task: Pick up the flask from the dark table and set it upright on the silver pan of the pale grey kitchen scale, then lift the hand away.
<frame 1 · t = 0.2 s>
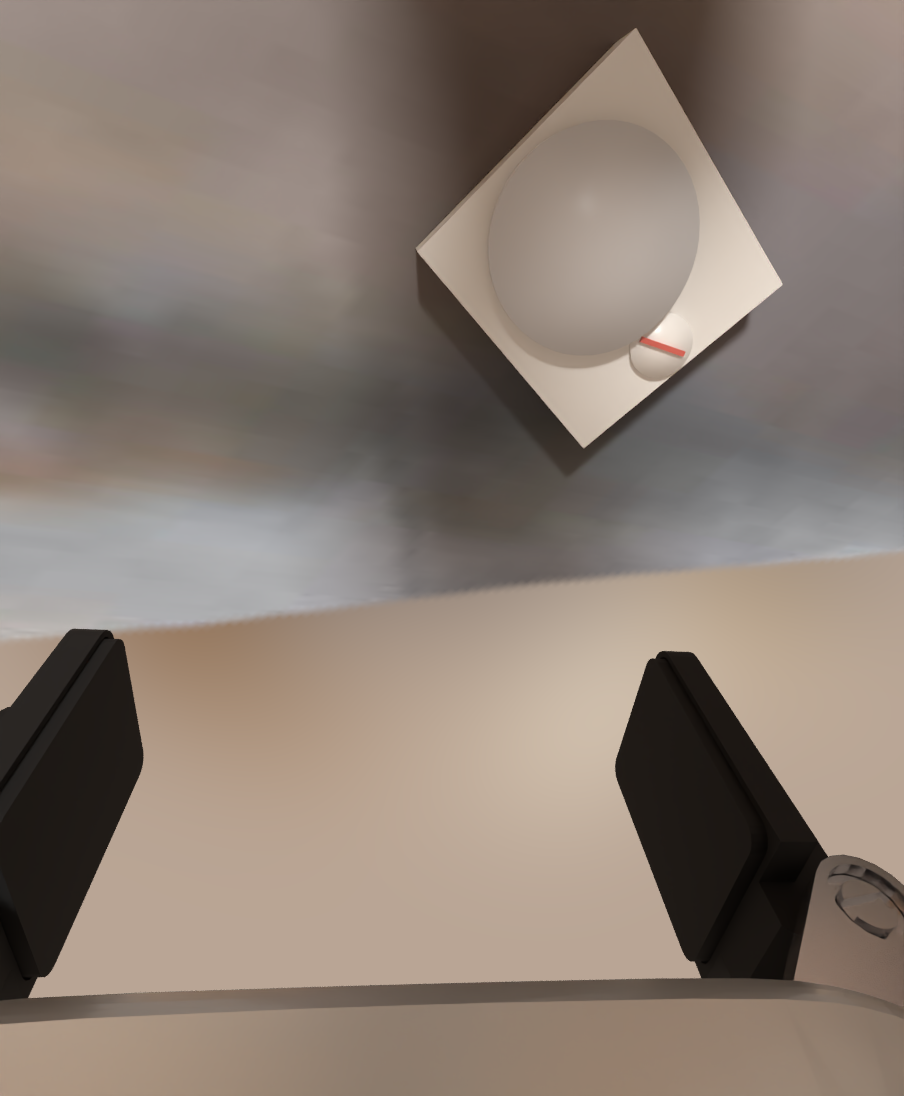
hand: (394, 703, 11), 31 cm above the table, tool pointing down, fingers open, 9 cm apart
kitchen scale: (591, 263, 37), on the table
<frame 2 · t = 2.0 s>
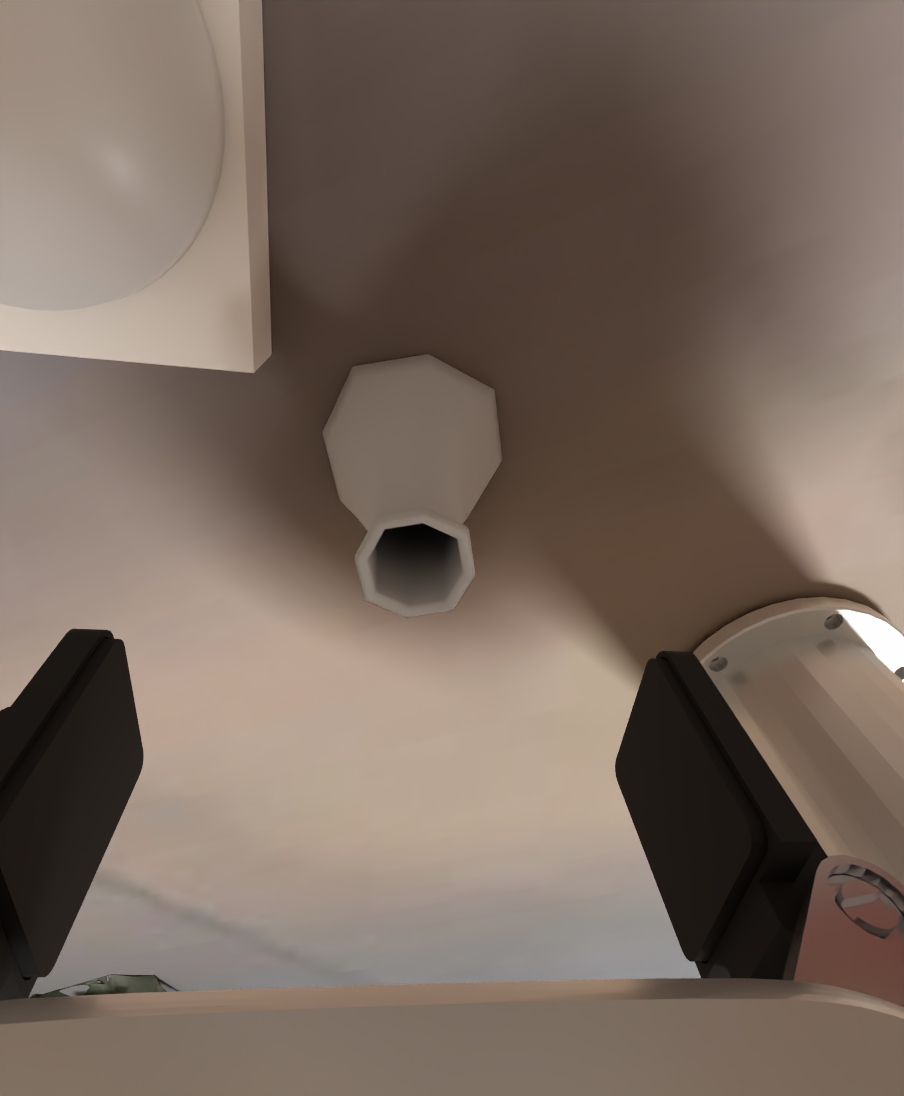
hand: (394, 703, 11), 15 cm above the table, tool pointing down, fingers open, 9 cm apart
flask: (414, 442, 25), on the table
rose bouquet: (102, 1089, 48), on the table
kitchen scale: (14, 96, 19), on the table
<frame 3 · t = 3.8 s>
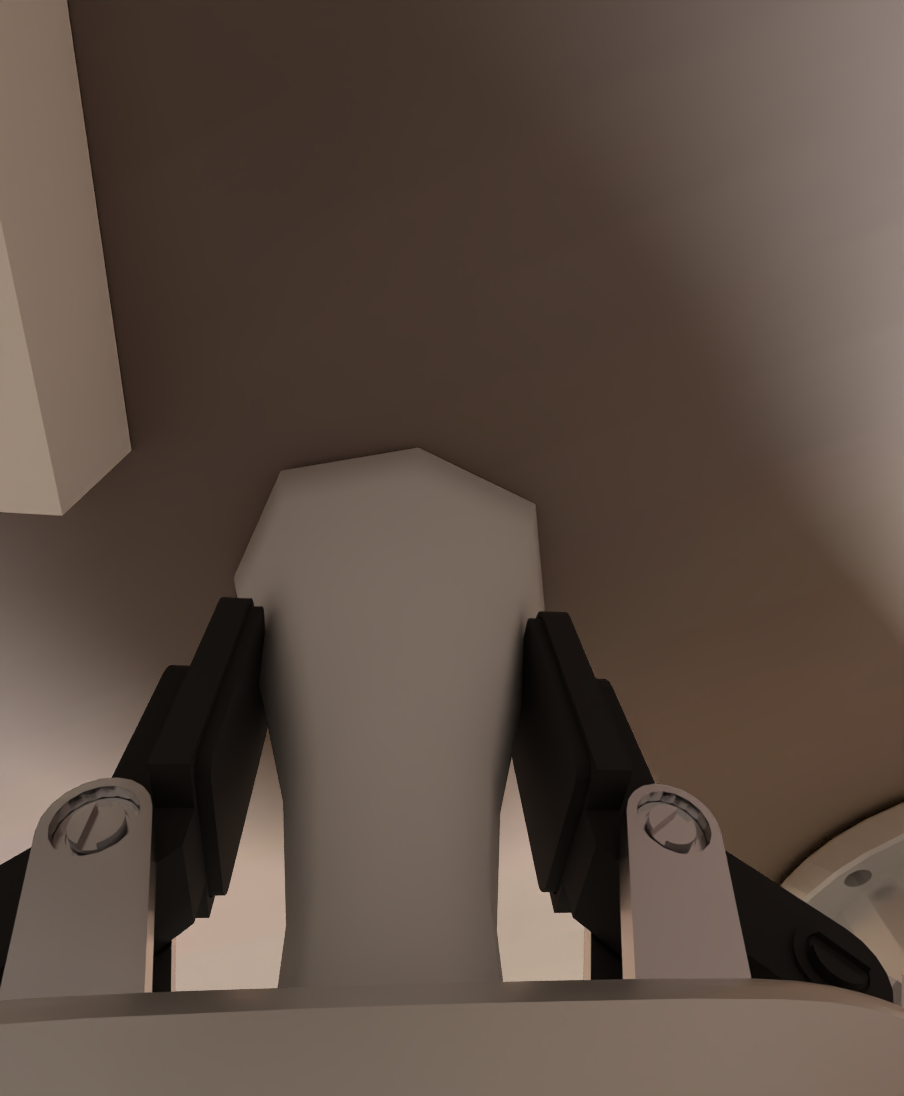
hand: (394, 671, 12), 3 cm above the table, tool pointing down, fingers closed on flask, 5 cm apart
flask: (395, 583, 15), on the table, touching gripper
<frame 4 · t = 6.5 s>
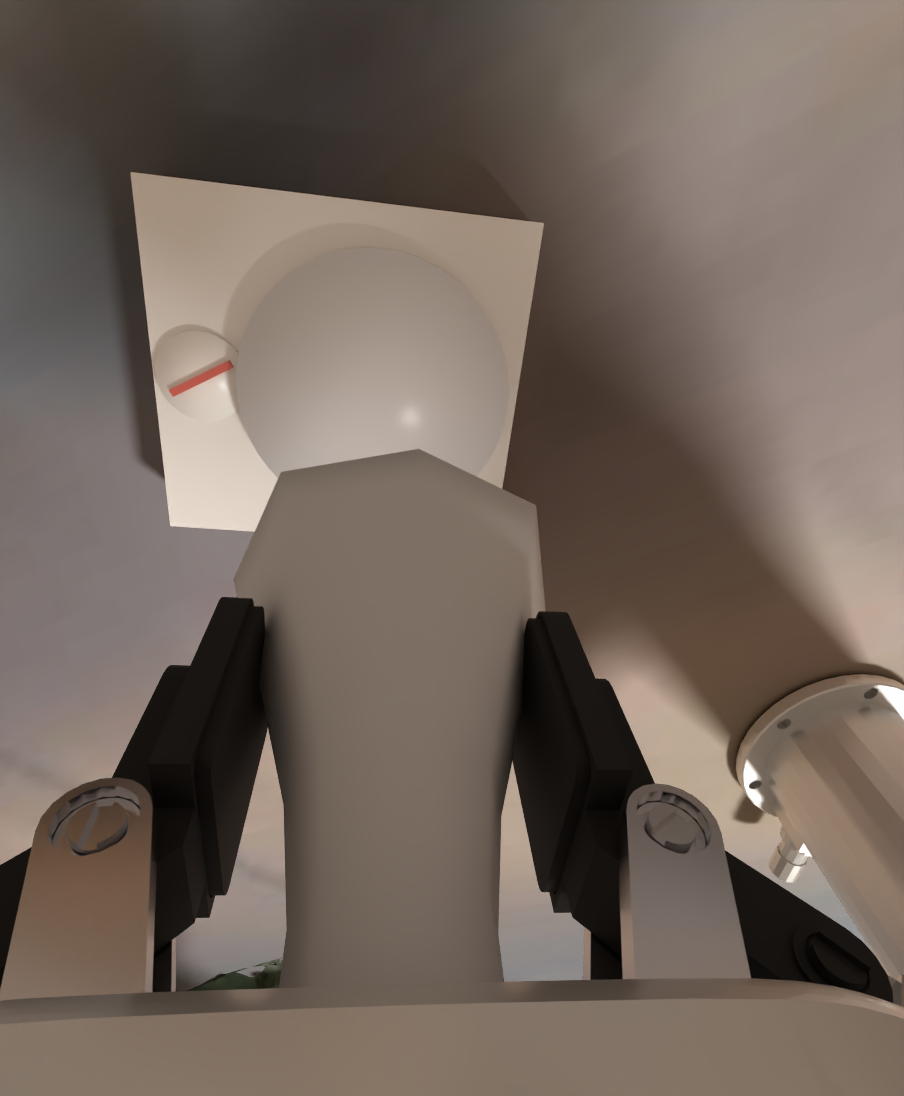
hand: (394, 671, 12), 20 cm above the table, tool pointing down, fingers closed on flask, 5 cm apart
flask: (395, 585, 15), point 17 cm above the table, touching gripper
rose bouquet: (254, 1055, 58), on the table
kitchen scale: (345, 372, 29), on the table
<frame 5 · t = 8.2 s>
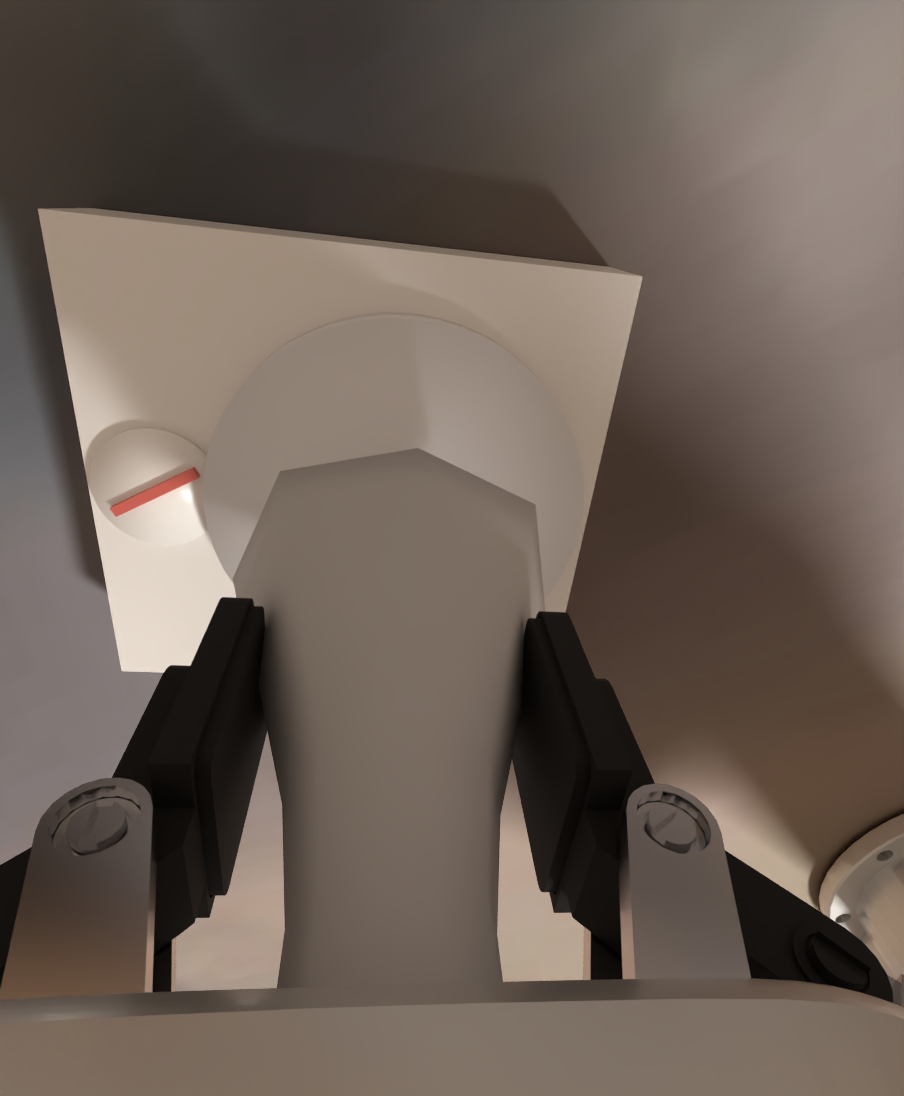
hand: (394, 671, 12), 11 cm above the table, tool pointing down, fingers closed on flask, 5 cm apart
flask: (394, 584, 15), point 8 cm above the table, touching gripper
kitchen scale: (355, 463, 22), on the table
when the fingers open (8 cm above the table, at t = 9.5 s): flask drops 1 cm, resting on kitchen scale.
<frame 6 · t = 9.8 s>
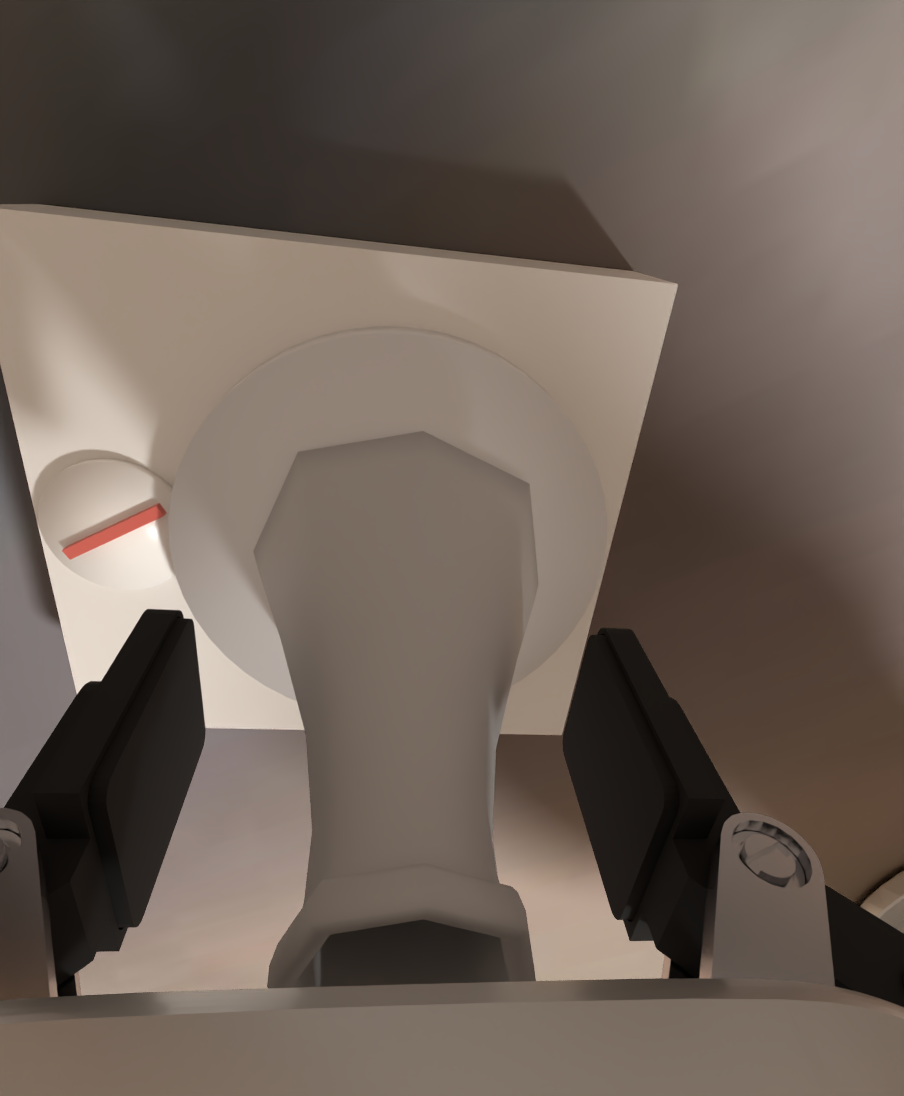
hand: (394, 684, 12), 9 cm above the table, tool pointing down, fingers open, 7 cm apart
flask: (400, 558, 16), point 4 cm above the table, touching kitchen scale
kitchen scale: (345, 491, 19), on the table
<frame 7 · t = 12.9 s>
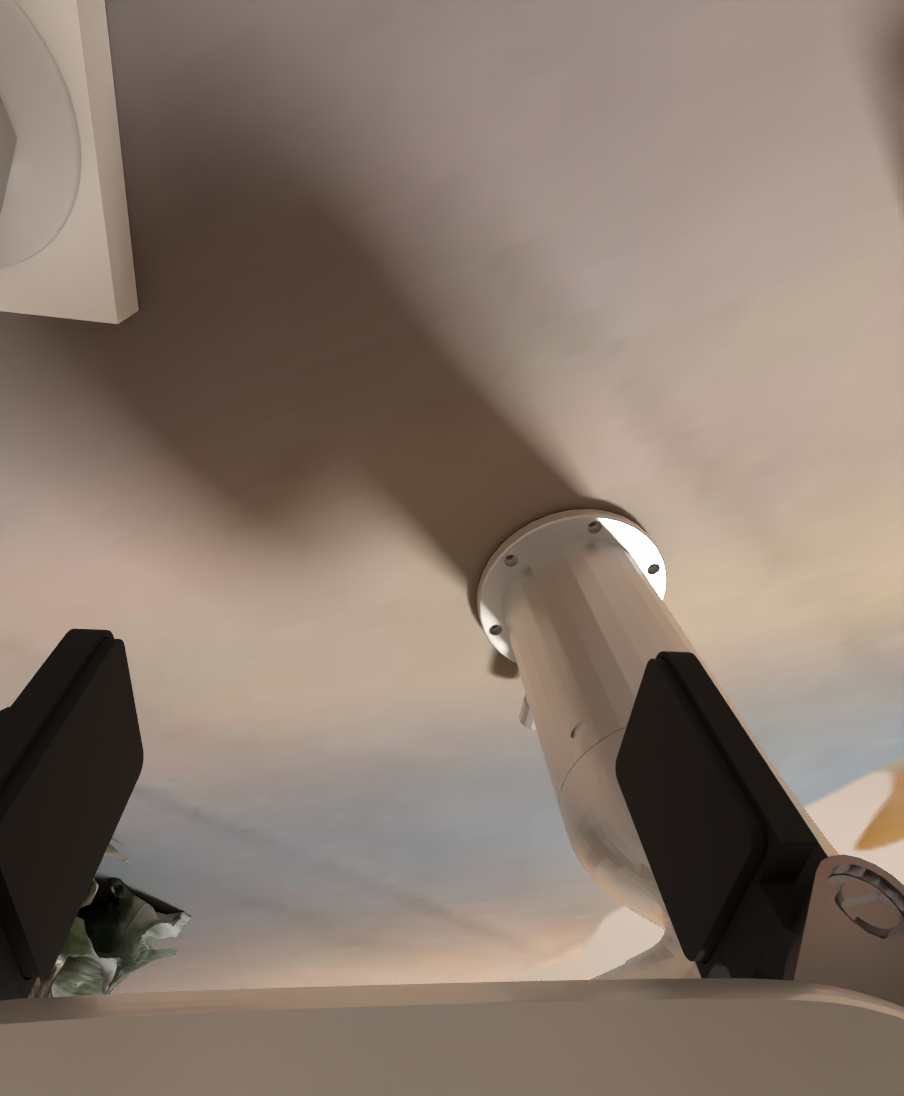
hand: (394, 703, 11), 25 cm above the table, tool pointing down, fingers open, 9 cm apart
rose bouquet: (49, 932, 56), on the table
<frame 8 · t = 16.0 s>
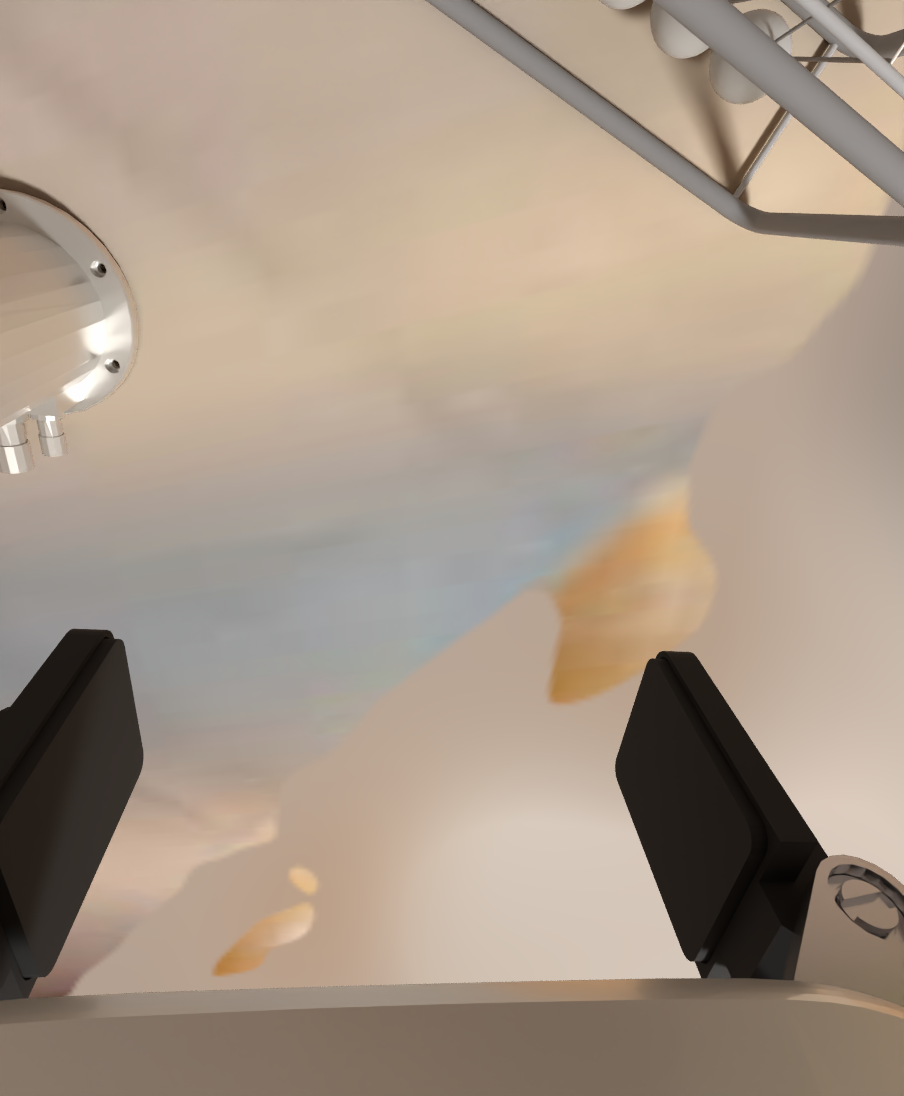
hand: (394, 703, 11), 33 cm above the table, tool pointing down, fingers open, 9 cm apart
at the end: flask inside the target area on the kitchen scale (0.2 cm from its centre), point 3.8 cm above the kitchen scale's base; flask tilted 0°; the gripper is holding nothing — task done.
